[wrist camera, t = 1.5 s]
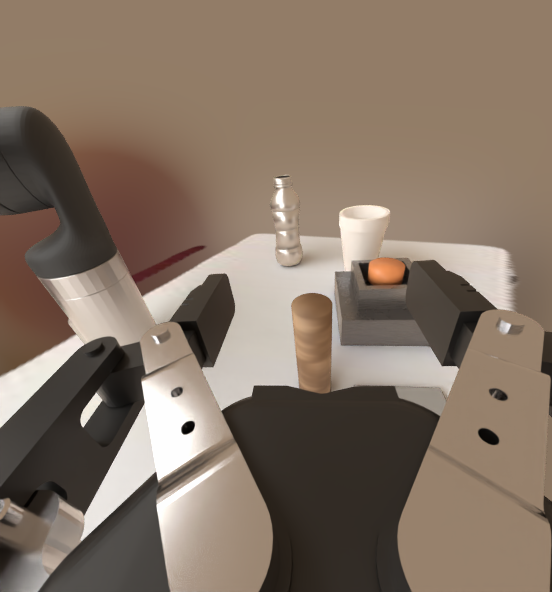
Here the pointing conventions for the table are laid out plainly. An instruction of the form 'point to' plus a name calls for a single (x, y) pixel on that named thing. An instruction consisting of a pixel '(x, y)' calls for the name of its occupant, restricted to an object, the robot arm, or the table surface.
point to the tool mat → (422, 397)
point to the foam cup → (362, 232)
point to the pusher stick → (313, 341)
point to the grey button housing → (374, 309)
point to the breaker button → (386, 271)
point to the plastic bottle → (286, 221)
